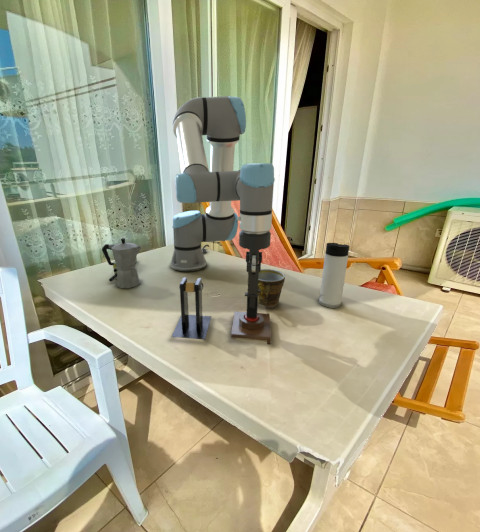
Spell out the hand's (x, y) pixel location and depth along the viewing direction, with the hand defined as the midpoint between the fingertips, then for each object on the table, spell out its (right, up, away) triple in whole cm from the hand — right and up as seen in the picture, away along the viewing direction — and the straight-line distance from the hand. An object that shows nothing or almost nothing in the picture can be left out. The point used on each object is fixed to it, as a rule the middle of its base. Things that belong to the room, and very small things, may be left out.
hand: (251, 316), depth 82 cm
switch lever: (-15, +6, +3) cm, 17 cm away
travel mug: (+28, +1, +14) cm, 31 cm away
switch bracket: (-16, -4, +3) cm, 17 cm away
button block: (0, -4, +2) cm, 5 cm away
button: (0, -2, +1) cm, 2 cm away
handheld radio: (-45, +11, +47) cm, 66 cm away
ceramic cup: (+7, +1, +15) cm, 16 cm away
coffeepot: (-42, +7, +35) cm, 55 cm away
